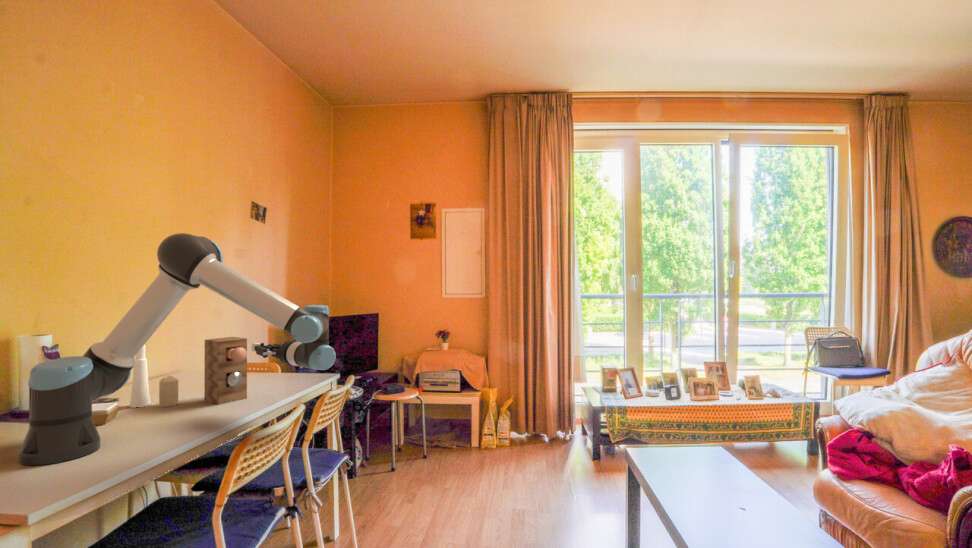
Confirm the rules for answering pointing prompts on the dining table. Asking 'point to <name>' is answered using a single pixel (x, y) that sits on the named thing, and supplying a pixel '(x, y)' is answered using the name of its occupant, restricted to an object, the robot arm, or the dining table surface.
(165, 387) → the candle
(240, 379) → the steel plug
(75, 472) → the dining table surface
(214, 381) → the socket block
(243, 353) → the terracotta plug
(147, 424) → the dining table surface
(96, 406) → the soap dish
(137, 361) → the cosmetic bottle
